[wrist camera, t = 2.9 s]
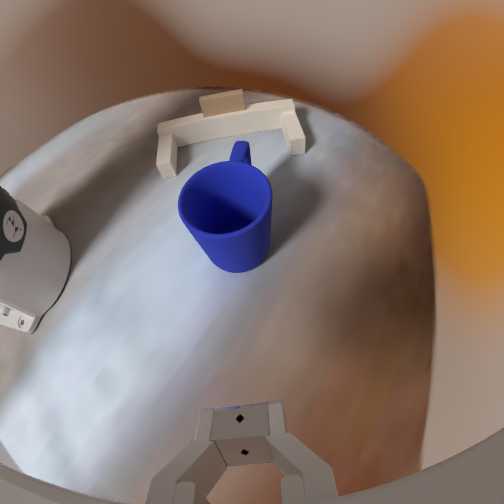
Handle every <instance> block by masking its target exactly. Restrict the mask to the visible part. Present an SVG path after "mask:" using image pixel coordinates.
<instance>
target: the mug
mask: <svg viewBox="0 0 504 504" xmlns="http://www.w3.org/2000/svg"><path fill="white" fill-rule="evenodd" d="M178 210H179V215H180V217H181V219H182V221H183V223H184V224H185V226H186V227H187V228H188V230H189V231H190V233H191V234H192V235H193V237H194V238H195V239H196V241H197V242H198V243H199V245H200V246H201V247H202V249H203V250H204V252H205V253H206V254H207V256H208V257H209V258H210V260H211V261H212V262H213V263H214V264H215V265H216V266H218V267H219V268H221V269H223V270H225V271H228V272H232V273H241V272H246V271H249V270H251V269H253V268H255V267H256V266H258V265H259V264H260V263H261V262H262V261H263V259H264V258H265V256H266V254H267V252H268V249H269V243H270V228H271V211H272V189H271V185H270V183H269V181H268V179H267V178H266V176H265V175H264V174H263V173H262V172H261V171H260V170H259V169H257V168H256V167H254V166H252V165H251V156H250V147H249V143H248V142H246V141H237V142H235V144H234V146H233V149H232V152H231V156H230V160H229V161H225V162H219V163H215V164H212V165H209V166H207V167H204V168H203V169H201V170H199V171H198V172H196V173H195V174H194V175H193V176H192V177H191V178H190V179H189V180H188V181H187V182H186V183H185V185H184V186H183V188H182V190H181V193H180V196H179V200H178Z"/></svg>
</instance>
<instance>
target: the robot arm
mask: <svg viewBox="0 0 504 504" xmlns="http://www.w3.org/2000/svg"><path fill="white" fill-rule="evenodd" d="M70 259H71V253H70V246H69V242H68V240H67V238H66V236H65V235H64V234H63V233H62V232H61V231H59V230H58V229H56V228H55V227H54V224H53V221H52V219H51V218H49V217H48V216H46V215H44V216H42V217H41V216H40V215H39V214H37V213H36V212H35V211H33V210H32V209H31V208H29V207H28V206H27V205H25V204H24V203H23V202H21V201H20V200H14V199H13V198H12V197H11V196H10V195H9V193H8V192H7V191H6V190H5V189H3V188H2V187H1V186H0V325H2V326H5V327H8V328H11V329H14V330H17V331H21V332H24V333H27V334H31V333H33V332H34V330H35V329H36V327H37V325H38V323H39V321H40V318H41V317H42V315H43V314H44V313H45V312H46V311H47V310H48V309H49V308H50V307H51V306H52V305H53V303H54V302H55V301H56V299H57V298H58V296H59V295H60V293H61V291H62V289H63V287H64V284H65V282H66V279H67V276H68V272H69V268H70ZM264 463H273V464H274V465H275V466H276V467H277V469H278V470H279V471H280V472H281V473H282V474H283V475H284V477H283V478H282V479H281V491H282V504H504V428H502V429H501V430H499V431H498V432H496V433H494V434H493V435H491V436H489V437H488V438H486V439H484V440H483V441H481V442H479V443H477V444H475V445H474V446H472V447H470V448H468V449H466V450H464V451H462V452H461V453H458V454H457V455H454V456H453V457H450V458H448V459H446V460H444V461H442V462H440V463H438V464H435V465H433V466H431V467H428V468H426V469H424V470H421V471H419V472H416V473H414V474H411V475H409V476H406V477H403V478H400V479H398V480H395V481H392V482H389V483H386V484H383V485H380V486H376V487H373V488H370V489H366V490H363V491H359V492H355V493H352V494H348V495H343V496H339V497H338V493H337V489H336V484H335V480H334V475H333V471H332V467H331V466H329V465H328V464H327V463H326V462H324V461H323V460H322V459H321V458H320V457H318V456H317V455H316V454H315V453H314V452H312V451H311V450H310V449H309V448H308V447H306V446H305V445H304V444H303V443H302V442H301V441H299V440H298V439H297V438H296V437H295V436H294V435H293V434H291V433H288V430H287V424H286V419H285V413H284V408H283V402H282V400H277V401H271V402H264V403H257V404H250V405H242V406H233V407H219V408H205V409H201V411H200V413H199V419H198V425H197V431H196V437H195V441H191V442H190V443H189V444H188V445H187V446H186V447H185V448H184V449H183V450H182V451H181V452H180V453H179V454H178V455H177V456H176V457H175V458H174V459H172V460H171V461H170V462H169V463H168V464H167V465H166V466H165V467H164V468H163V469H162V470H161V471H160V472H159V473H158V474H156V475H155V476H154V477H153V478H152V480H151V484H150V488H149V492H148V496H147V500H146V504H210V503H209V502H208V500H207V499H206V496H207V495H208V494H209V492H210V491H211V490H212V488H213V487H214V486H215V484H216V483H217V482H218V480H219V479H220V478H221V476H222V475H223V473H224V472H225V471H226V469H227V467H230V466H241V465H252V464H264ZM0 504H131V503H125V502H120V501H114V500H110V499H105V498H100V497H96V496H92V495H88V494H84V493H80V492H77V491H73V490H70V489H66V488H63V487H60V486H57V485H54V484H51V483H48V482H45V481H42V480H39V479H37V478H34V477H32V476H29V475H26V474H24V473H21V472H19V471H17V470H15V469H12V468H10V467H8V466H6V465H4V464H1V463H0Z"/></svg>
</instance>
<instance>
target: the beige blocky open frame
mask: <svg viewBox="0 0 504 504" xmlns="http://www.w3.org/2000/svg"><path fill="white" fill-rule="evenodd" d="M199 102H200V106H201V110H202V113H200V114H195V115H190V116H186V117H182V118H178V119H173V120H169V121H166V122H162V123H158V128H157V133H158V135H159V141H158V150H157V160H156V166H157V168H158V170H159V172H160V174H161V176H162V178H163V179H165V178H170V177H174V176H177V147H181V146H185V145H190V144H194V143H199V142H204V141H209V140H214V139H219V138H224V137H230V136H236V135H241V134H247V133H254V132H260V131H267V130H274V129H281V128H282V130H283V133H284V136H285V139H286V142H287V145H288V148H289V152H290V155H299V154H305V140H306V138H305V135H304V133H303V130H302V128H301V125H300V123H299V120H298V118H297V115H296V113H295V105H294V103H293V100H292V99H286V100H277V101H269V102H262V103H255V104H248V105H245V104H244V97H243V92H242V89H240V90H234V91H228V92H222V93H217V94H212V95H207V96H202V97H199Z"/></svg>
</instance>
